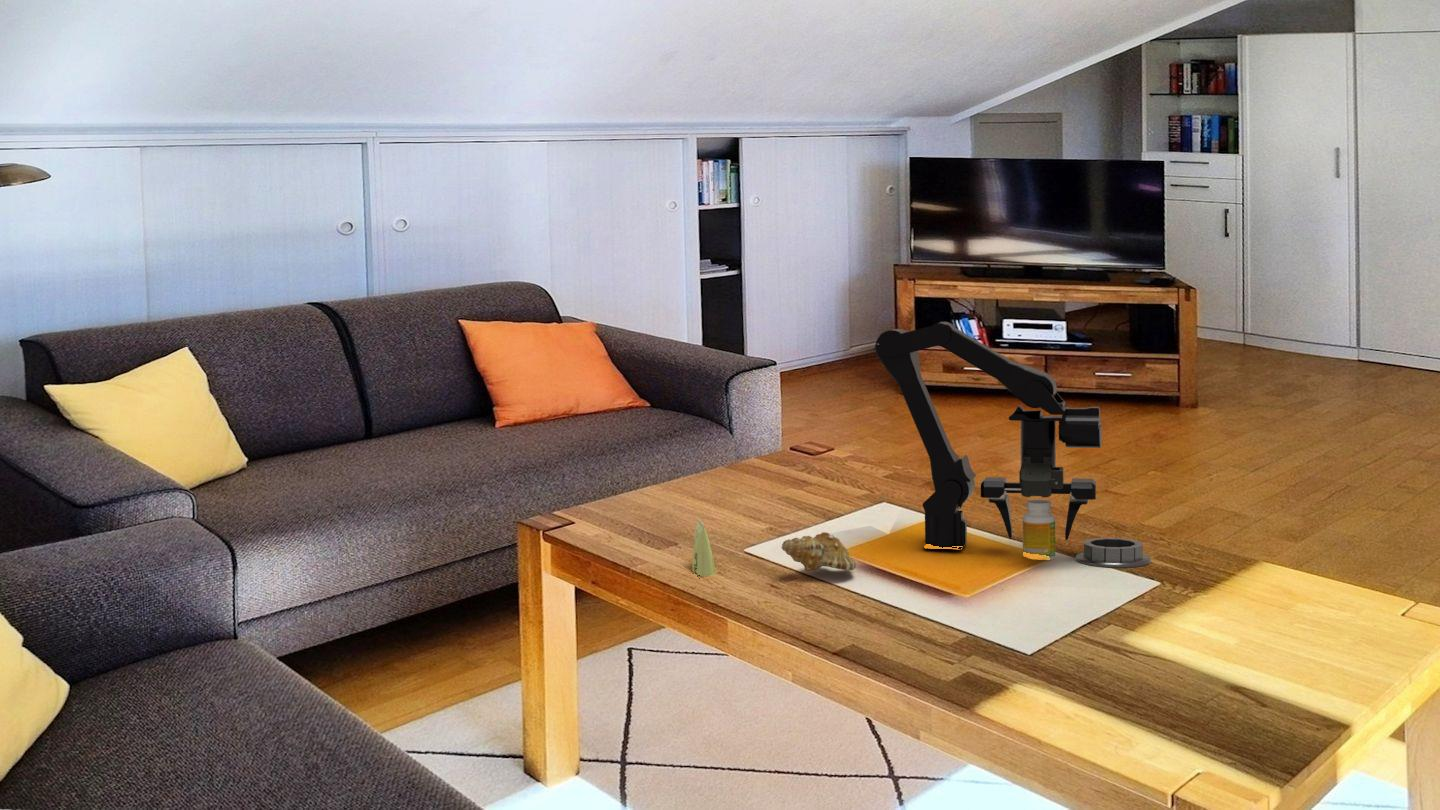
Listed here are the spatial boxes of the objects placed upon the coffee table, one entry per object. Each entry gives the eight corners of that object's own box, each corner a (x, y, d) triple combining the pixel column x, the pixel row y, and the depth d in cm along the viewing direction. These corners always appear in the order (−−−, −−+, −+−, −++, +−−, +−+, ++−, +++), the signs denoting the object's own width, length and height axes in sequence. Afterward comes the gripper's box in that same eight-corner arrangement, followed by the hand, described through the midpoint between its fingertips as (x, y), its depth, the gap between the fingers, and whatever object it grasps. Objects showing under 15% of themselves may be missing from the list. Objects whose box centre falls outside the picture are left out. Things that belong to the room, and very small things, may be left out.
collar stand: (1074, 566, 220) (1074, 549, 220) (1076, 552, 232) (1076, 535, 232) (1151, 569, 217) (1151, 551, 217) (1149, 554, 229) (1149, 537, 228)
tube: (683, 636, 225) (677, 521, 223) (703, 629, 229) (698, 516, 227) (708, 641, 221) (703, 524, 219) (728, 634, 225) (723, 519, 223)
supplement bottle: (1056, 561, 225) (1055, 504, 224) (1022, 561, 226) (1022, 503, 225) (1054, 555, 230) (1054, 498, 229) (1022, 554, 231) (1022, 498, 230)
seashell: (826, 595, 215) (793, 543, 214) (803, 596, 222) (771, 545, 221) (867, 562, 219) (835, 511, 218) (842, 563, 226) (811, 514, 225)
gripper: (977, 452, 221) (978, 546, 222) (1095, 453, 216) (1095, 549, 217) (983, 444, 232) (983, 534, 233) (1095, 445, 227) (1095, 537, 228)
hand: (1038, 538), depth 228 cm, fingers open, 9 cm apart
